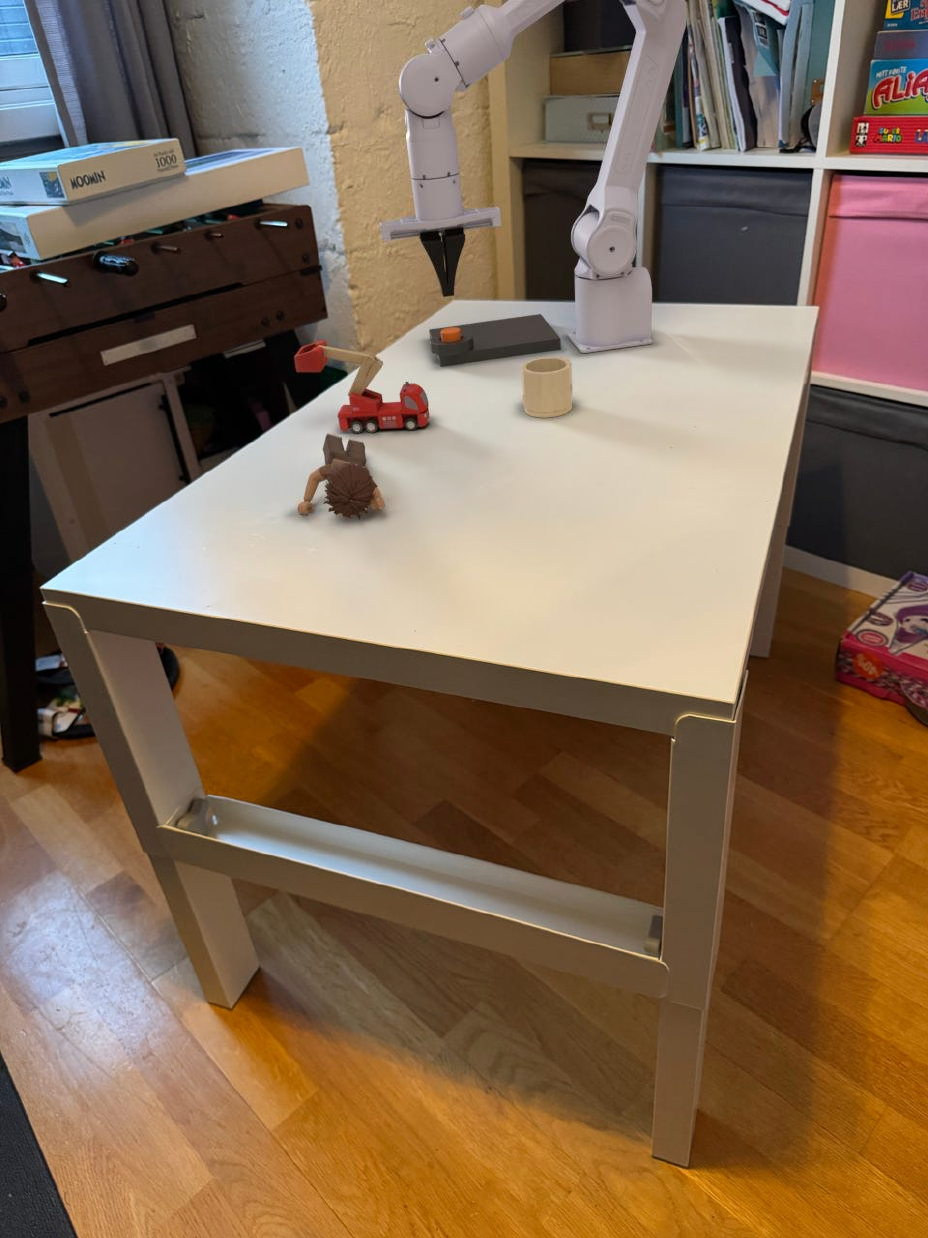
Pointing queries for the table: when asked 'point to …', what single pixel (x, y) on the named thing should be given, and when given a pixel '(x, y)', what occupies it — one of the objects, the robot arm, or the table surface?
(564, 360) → the small cup
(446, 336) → the button
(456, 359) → the scale
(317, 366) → the toy fire truck
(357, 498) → the figurine
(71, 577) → the table surface
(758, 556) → the table surface
